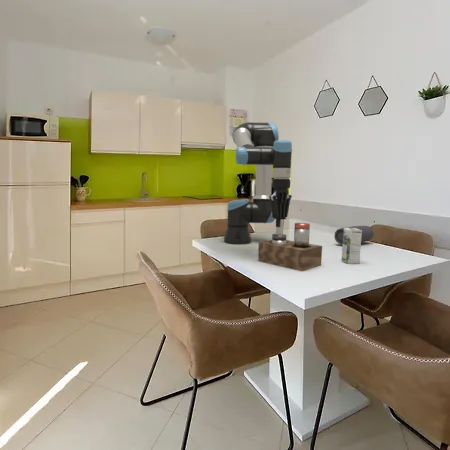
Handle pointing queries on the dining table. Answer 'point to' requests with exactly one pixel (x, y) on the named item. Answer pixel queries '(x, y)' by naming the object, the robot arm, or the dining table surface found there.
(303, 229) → the red lid glass jar
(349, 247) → the syrup box
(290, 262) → the wooden jar holder
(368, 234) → the bluetooth speaker
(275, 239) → the grey lid glass jar
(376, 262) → the dining table surface
